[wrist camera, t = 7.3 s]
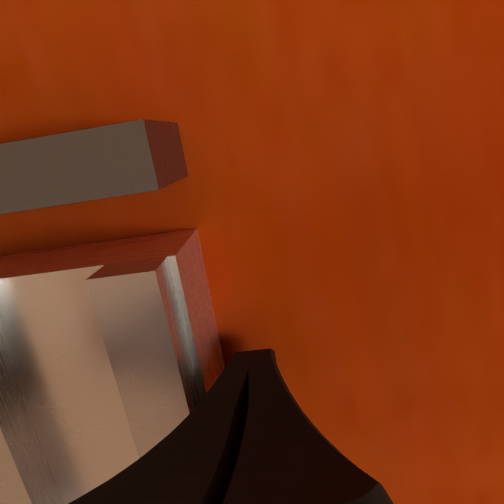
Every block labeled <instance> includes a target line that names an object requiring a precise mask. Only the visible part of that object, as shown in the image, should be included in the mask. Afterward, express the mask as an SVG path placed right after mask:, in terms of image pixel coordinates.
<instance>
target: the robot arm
mask: <svg viewBox="0 0 504 504" xmlns="http://www.w3.org/2000/svg"><path fill="white" fill-rule="evenodd" d="M68 504H393V502H392V500H391V499H390V497H389V496H388V494H387V492H386V491H385V489H384V488H383V486H382V485H381V484H380V483H379V482H377V481H376V480H375V479H373V478H372V477H370V476H369V475H368V474H366V473H365V472H363V471H362V470H361V469H359V468H358V467H357V466H356V465H354V464H353V463H352V462H351V461H350V460H348V459H347V458H346V457H345V456H344V455H343V454H341V453H340V452H339V451H338V450H337V449H336V448H335V447H334V446H333V445H332V444H331V443H330V442H329V441H328V440H327V439H326V438H325V437H324V436H323V435H322V434H321V433H320V432H319V431H318V429H317V428H316V427H315V426H314V425H313V424H312V422H311V421H310V420H309V419H308V417H307V416H306V415H305V414H304V412H303V411H302V409H301V408H300V407H299V405H298V404H297V402H296V401H295V399H294V398H293V396H292V394H291V393H290V391H289V389H288V388H287V386H286V384H285V382H284V380H283V378H282V376H281V374H280V372H279V369H278V367H277V364H276V358H275V352H274V351H273V350H272V349H263V350H253V351H244V352H236V353H235V354H234V355H233V357H232V358H231V360H230V361H229V363H228V364H227V366H226V367H225V369H224V370H223V372H222V373H221V374H220V376H219V377H218V379H217V380H216V381H215V383H214V384H213V385H212V387H211V388H210V390H209V391H208V392H207V393H206V395H205V396H204V397H203V398H202V400H201V401H200V402H199V403H198V404H197V406H196V407H195V408H194V409H193V410H192V411H191V413H190V414H189V415H188V416H187V417H186V418H185V419H184V420H183V421H182V422H181V423H180V424H179V425H178V426H177V427H176V428H175V429H174V430H173V431H172V432H171V433H170V434H168V435H167V436H166V437H165V438H164V439H163V440H161V441H160V442H159V443H158V444H157V445H155V446H154V447H153V448H152V449H151V450H149V451H148V452H147V453H146V454H145V455H143V456H142V457H141V458H139V459H138V460H137V461H135V462H134V463H132V464H131V465H130V466H128V467H127V468H125V469H124V470H123V471H121V472H120V473H118V474H117V475H115V476H114V477H112V478H111V479H109V480H108V481H106V482H104V483H103V484H101V485H99V486H98V487H96V488H94V489H93V490H91V491H89V492H88V493H86V494H84V495H82V496H81V497H79V498H77V499H76V500H74V501H72V502H70V503H68Z"/></svg>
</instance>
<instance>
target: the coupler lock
mask: <svg viewBox="0 0 504 504" xmlns="http://www.w3.org/2000/svg"><path fill="white" fill-rule="evenodd" d="M224 369H225V365H224V360H223V355H222V350H221V345H220V340H219V335H218V330H217V325H216V320H215V315H214V310H213V305H212V300H211V295H210V290H209V285H208V280H207V275H206V270H205V265H204V260H203V255H202V250H201V245H200V240H199V235H198V230H197V228H195V229H188V230H181V231H174V232H167V233H159V234H152V235H145V236H138V237H131V238H123V239H116V240H109V241H102V242H95V243H88V244H80V245H73V246H66V247H59V248H52V249H45V250H37V251H30V252H23V253H16V254H9V255H1V256H0V504H68V503H70V502H72V501H74V500H76V499H77V498H79V497H81V496H82V495H84V494H86V493H88V492H89V491H91V490H93V489H94V488H96V487H98V486H99V485H101V484H103V483H104V482H106V481H108V480H109V479H111V478H112V477H114V476H115V475H117V474H118V473H120V472H121V471H123V470H124V469H125V468H127V467H128V466H130V465H131V464H132V463H134V462H135V461H137V460H138V459H139V458H141V457H142V456H143V455H145V454H146V453H147V452H148V451H149V450H151V449H152V448H153V447H154V446H155V445H157V444H158V443H159V442H160V441H161V440H163V439H164V438H165V437H166V436H167V435H168V434H170V433H171V432H172V431H173V430H174V429H175V428H176V427H177V426H178V425H179V424H180V423H181V422H182V421H183V420H184V419H185V418H186V417H187V416H188V415H189V414H190V413H191V411H192V410H193V409H194V408H195V407H196V406H197V404H198V403H199V402H200V401H201V400H202V398H203V397H204V396H205V395H206V393H207V392H208V391H209V390H210V388H211V387H212V385H213V384H214V383H215V381H216V380H217V379H218V377H219V376H220V374H221V373H222V372H223V370H224Z"/></svg>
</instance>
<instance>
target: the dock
mask: <svg viewBox="0 0 504 504" xmlns="http://www.w3.org/2000/svg"><path fill="white" fill-rule="evenodd" d="M186 176H188V174H187V169H186V164H185V159H184V154H183V150H182V145H181V140H180V135H179V130H178V125H177V123H171V122H162V121H153V120H145V119H142V120H136V121H131V122H125V123H119V124H113V125H107V126H101V127H96V128H90V129H84V130H78V131H72V132H67V133H61V134H55V135H49V136H43V137H38V138H32V139H26V140H20V141H14V142H9V143H3V144H0V214H4V213H11V212H17V211H24V210H30V209H37V208H43V207H50V206H56V205H63V204H70V203H76V202H83V201H89V200H96V199H102V198H109V197H115V196H122V195H128V194H135V193H141V192H148V191H154V190H160V189H162V188H164V187H166V186H168V185H170V184H172V183H174V182H176V181H178V180H180V179H182V178H184V177H186Z"/></svg>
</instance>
